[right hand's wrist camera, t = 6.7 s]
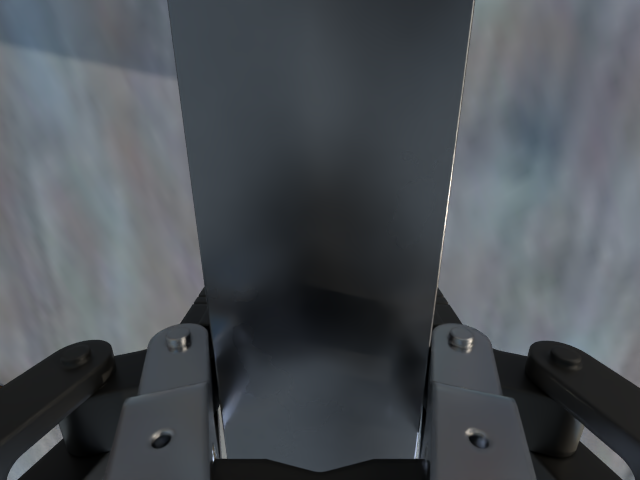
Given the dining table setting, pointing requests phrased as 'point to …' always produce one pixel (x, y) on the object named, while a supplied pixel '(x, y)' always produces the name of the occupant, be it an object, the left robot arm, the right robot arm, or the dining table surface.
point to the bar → (321, 212)
